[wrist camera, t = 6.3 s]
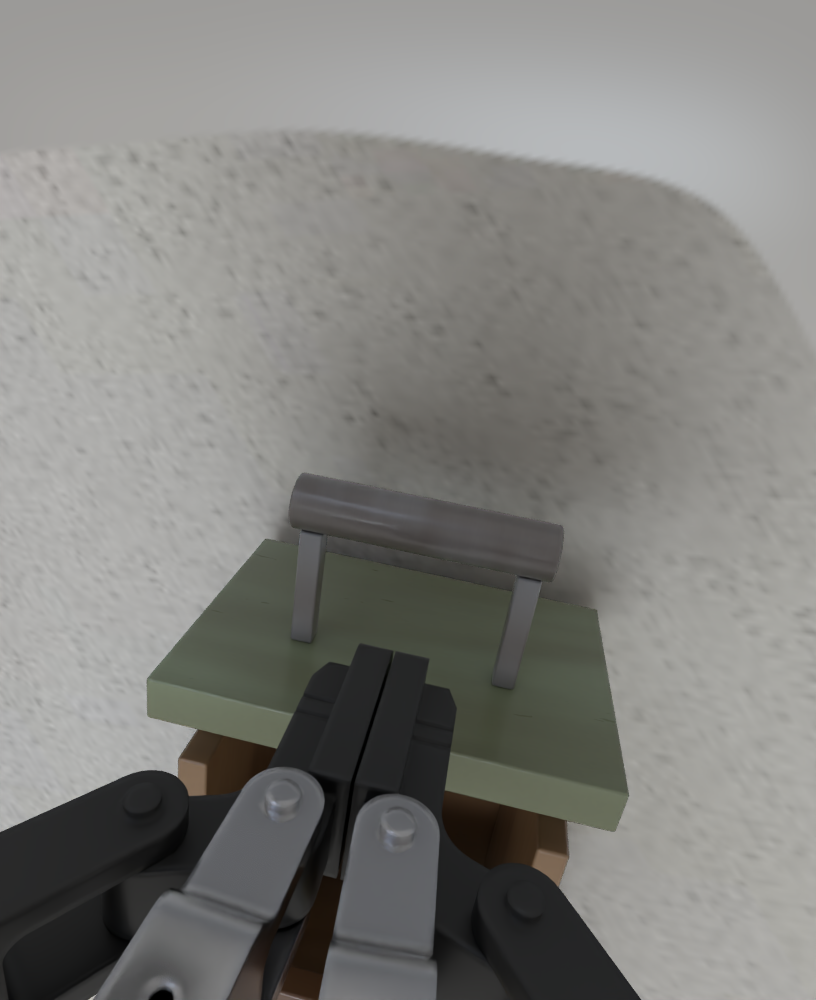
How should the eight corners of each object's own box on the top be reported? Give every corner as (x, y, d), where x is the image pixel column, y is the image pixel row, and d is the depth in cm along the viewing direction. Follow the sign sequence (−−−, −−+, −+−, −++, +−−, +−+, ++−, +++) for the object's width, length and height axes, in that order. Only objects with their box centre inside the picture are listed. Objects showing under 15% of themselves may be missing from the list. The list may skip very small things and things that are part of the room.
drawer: (274, 406, 21) (142, 499, 14) (638, 477, 20) (699, 617, 13) (246, 816, 28) (151, 1015, 21) (511, 885, 27) (504, 1119, 20)
